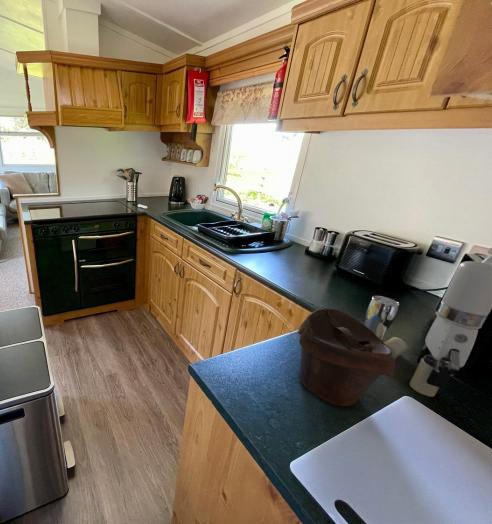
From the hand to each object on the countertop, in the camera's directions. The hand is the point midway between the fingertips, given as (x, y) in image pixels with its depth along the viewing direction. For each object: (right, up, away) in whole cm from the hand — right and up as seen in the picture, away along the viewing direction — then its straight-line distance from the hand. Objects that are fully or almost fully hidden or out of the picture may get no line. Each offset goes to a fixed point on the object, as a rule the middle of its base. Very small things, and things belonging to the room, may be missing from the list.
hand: (429, 374), depth 73 cm
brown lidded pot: (-25, -3, 0) cm, 26 cm away
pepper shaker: (0, -4, +2) cm, 5 cm away
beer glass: (+1, +2, +21) cm, 21 cm away
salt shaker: (+6, +3, +15) cm, 17 cm away
